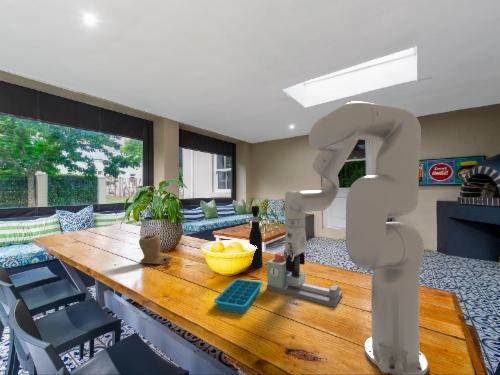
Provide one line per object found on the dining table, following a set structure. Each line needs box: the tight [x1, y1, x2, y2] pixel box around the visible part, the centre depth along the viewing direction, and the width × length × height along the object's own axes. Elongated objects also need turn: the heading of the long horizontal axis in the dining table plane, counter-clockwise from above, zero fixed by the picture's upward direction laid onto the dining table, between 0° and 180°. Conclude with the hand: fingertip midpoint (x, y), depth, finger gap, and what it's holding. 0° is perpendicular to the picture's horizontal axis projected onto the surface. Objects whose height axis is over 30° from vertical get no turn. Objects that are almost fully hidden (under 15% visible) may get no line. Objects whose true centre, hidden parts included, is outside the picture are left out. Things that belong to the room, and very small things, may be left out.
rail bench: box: [266, 257, 343, 308], centre depth 91 cm, size 10×26×10 cm, turn 56°
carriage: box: [286, 254, 306, 288], centre depth 93 cm, size 6×5×11 cm
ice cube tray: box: [213, 278, 263, 314], centre depth 87 cm, size 12×20×3 cm, turn 161°
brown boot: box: [138, 233, 173, 265], centre depth 128 cm, size 15×12×15 cm
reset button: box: [274, 253, 285, 263], centre depth 97 cm, size 4×4×6 cm
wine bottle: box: [248, 205, 263, 269], centre depth 121 cm, size 6×6×30 cm
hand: (295, 267), depth 93 cm, fingers open, 9 cm apart
